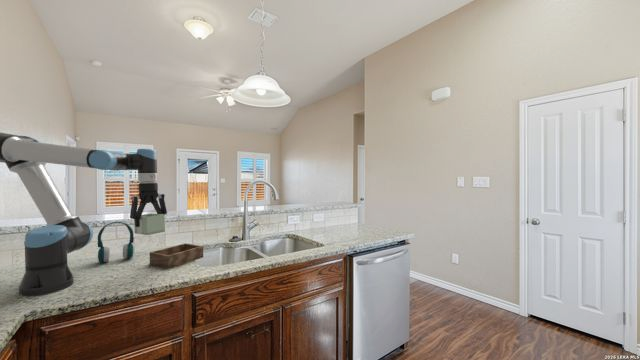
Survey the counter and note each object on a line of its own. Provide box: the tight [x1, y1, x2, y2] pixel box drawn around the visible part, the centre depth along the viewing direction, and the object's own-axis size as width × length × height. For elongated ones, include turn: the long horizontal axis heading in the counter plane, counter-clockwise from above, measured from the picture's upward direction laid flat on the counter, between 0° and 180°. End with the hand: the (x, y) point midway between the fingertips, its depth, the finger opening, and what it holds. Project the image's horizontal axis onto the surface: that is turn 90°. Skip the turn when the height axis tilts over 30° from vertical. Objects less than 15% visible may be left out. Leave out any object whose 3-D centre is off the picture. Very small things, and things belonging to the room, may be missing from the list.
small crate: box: [133, 212, 166, 236], centre depth 126 cm, size 8×10×8 cm
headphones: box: [97, 221, 135, 264], centre depth 140 cm, size 8×15×20 cm, turn 124°
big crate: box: [149, 243, 204, 270], centre depth 140 cm, size 20×14×6 cm
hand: (149, 231), depth 126 cm, fingers closed on small crate, 8 cm apart
